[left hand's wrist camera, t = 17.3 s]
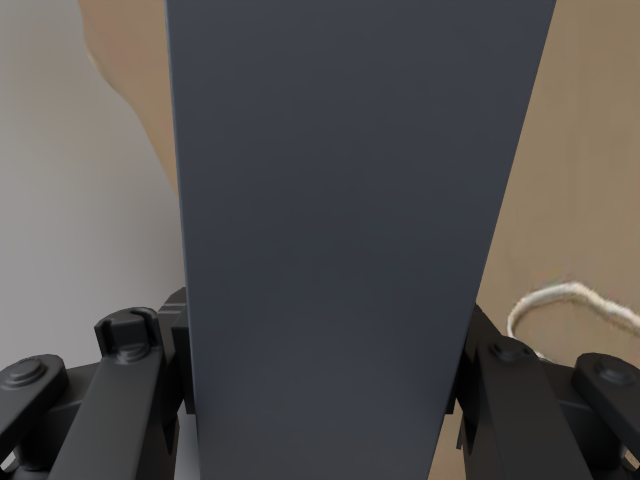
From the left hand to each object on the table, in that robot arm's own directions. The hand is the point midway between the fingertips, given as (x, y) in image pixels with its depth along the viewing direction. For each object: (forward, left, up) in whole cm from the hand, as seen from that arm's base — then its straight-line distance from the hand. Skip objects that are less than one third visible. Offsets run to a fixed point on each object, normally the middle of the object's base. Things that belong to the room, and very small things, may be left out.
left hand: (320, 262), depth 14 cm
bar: (+8, -2, -1) cm, 8 cm away
